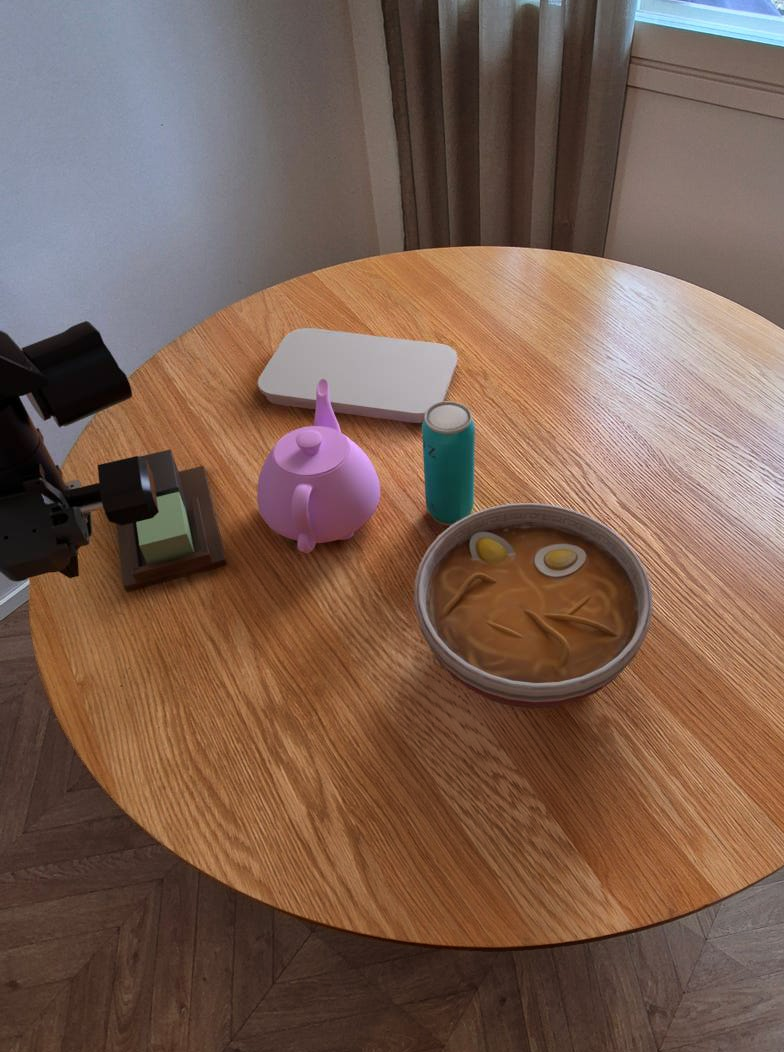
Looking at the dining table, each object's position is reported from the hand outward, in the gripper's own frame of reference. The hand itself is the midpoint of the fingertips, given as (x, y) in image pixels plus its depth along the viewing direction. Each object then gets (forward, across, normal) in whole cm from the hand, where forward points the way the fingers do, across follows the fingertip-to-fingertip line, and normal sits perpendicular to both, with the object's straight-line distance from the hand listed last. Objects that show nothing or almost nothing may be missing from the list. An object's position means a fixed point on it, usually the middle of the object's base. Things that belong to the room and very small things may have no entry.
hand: (74, 574), depth 73 cm
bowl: (+12, +40, -15) cm, 44 cm away
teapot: (+12, +25, +12) cm, 30 cm away
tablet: (+12, +36, +35) cm, 52 cm away
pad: (+11, +7, +12) cm, 18 cm away
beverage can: (+12, +39, +6) cm, 41 cm away
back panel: (+12, +7, +16) cm, 21 cm away
